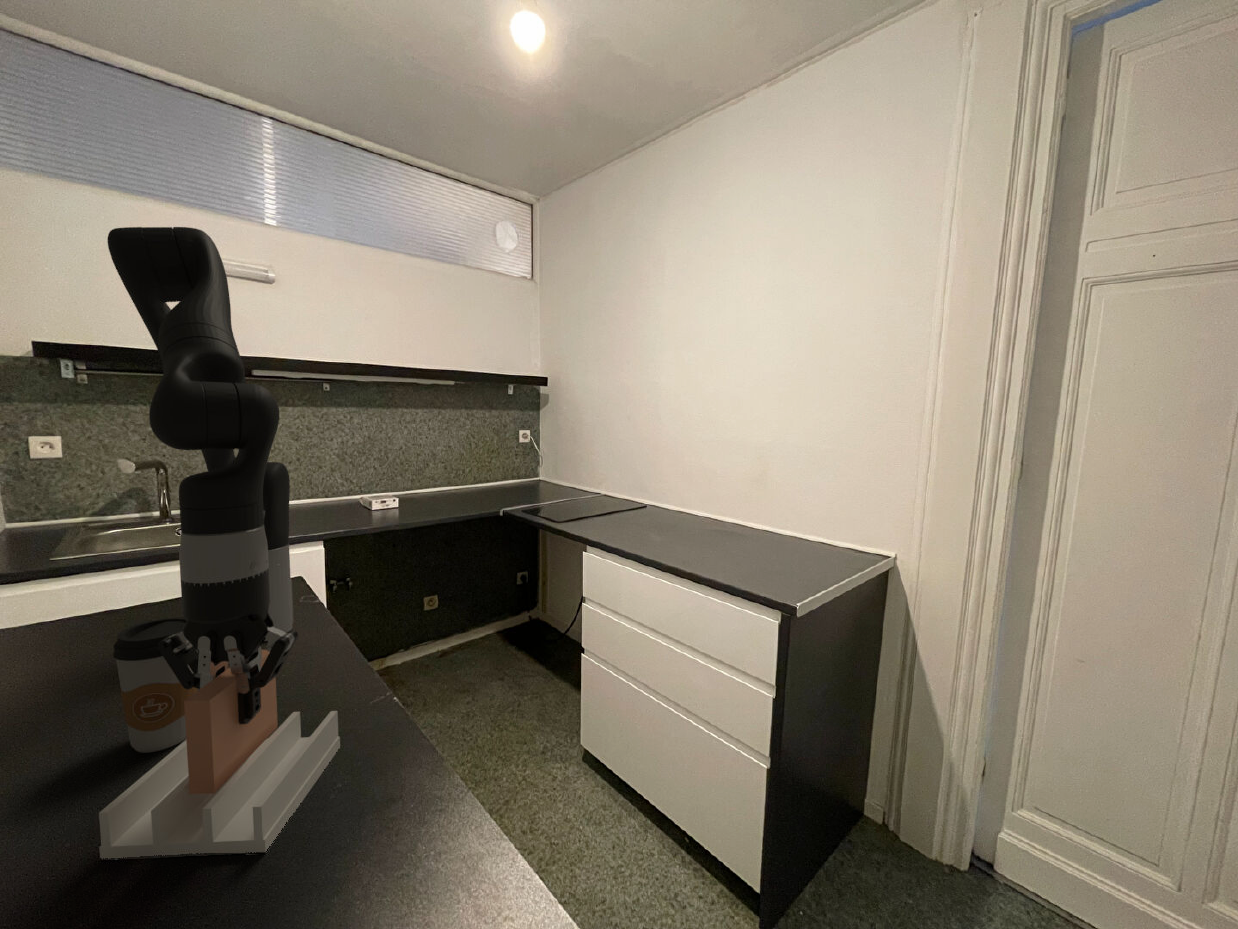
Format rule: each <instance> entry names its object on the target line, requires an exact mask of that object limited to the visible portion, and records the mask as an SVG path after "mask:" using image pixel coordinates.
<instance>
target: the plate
mask: <svg viewBox="0 0 1238 929" xmlns="http://www.w3.org/2000/svg"><path fill="white" fill-rule="evenodd" d="M261 651H262V660H261V668H262V666H263V664H264V662H265V660H266V659H267V657H268V655H269V653H270V652H268V651H267V649H261ZM276 677H277V676H276ZM276 677H274V678H273V679H272V680H271V681H270V682H269V683H268V684H267V685H265V686H264V687H262V688H260V691H261V709H260V711H259V712H258V713H257V714H256V716H255V717H254V718H253V719H252V720H251V721H250V722H249V723H248V724H239V713H238V693H240V692H239V691H238V689H237V684H236V678H235V675H233V674H231V670H230V667H228V669H227V670H226V671H224V672H223V673H221V674H220V675H219V676H217V677H216V678H215V679H213V680H212V681H211V682H209V683H208V684H206V685H205V686H204V687H202V688H201V689H198V691H197V692H196V693H194V694H193V695H191V696H190V697H189V698H187V699H186V700H185V701H184V708H185V724H186V739H185V740H186V741H187V757H188V774H189V791H190V794H208V793H216V791H217V790H218V789H219V788H220V787H221V786H222V785H223V784H224V783H225V782H226V781H227V780H228V779H229V778H230V777H231V776H232V775H233V774H234V773H235V772H236V770H237V769H238V768H239V767H240V766H241V765H242V764H243V763H244V762H245V761H246V760H247V759H248V758H249V757H250V756H251V755H252V754H253V753H254V752H255V750H256V749H257V748H258V747H259V746H260V745H261V744H262V743H263V742H264V741H265V740H266V739H267V738H269V737H270V736H271V735H272V734H273V733H274V732H275V731H276V730H277V729H278V728H279V727H278V726H279V725H278V706H277V705H278V703H277V678H276Z"/></svg>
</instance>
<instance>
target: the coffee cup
mask: <svg viewBox="0 0 1238 929" xmlns="http://www.w3.org/2000/svg"><path fill="white" fill-rule="evenodd" d="M186 622H187V620H186V619H185V618H184V617H182V616H176V617H175V616H174V617H165V618H157V619H153V620H149V621H144V622H141V623H139V624H135V625H132V626H130V627H128V628H126V629H123V630H122V631H120V632H119V634H117V639H116V642H115V643H114V645H113V649H114V650H113V653H112V656H113V658H114V659H115V662H116V667H117V672H118V674H117V675H118V679H119V684H120V689H119V690H120V696H121V697H120V698H121V702H122V706H123V707H122V708H123V714H124V720H125V723H126V725H127V726H126V727H127V730H128V732H127V733H128V737H129V738H128V739H129V742H130V743H129V745H130V746H131V748H133V749H134V750H135V751H136V752H137V753H154V752H158V751H162V750H165V749H168V748H171V747H174V746H176V745H178V744H181V743H183V742H184V741H185V740H186V724H185V708H184V701H185V700H186V699H187V698H189V697H190V696H191V695H193V694H194V693H196V692H197V691H198V690H199V689H198V688H194V687H193V688H191V689H185V688H184V687H183V686H182V685H181V683H180V682H179V680H178V679H177V677H176V675H175V674H174V672H173V671H172V669H171V668H170V666H169V665H168V663H167V662H166V660H165V659H164V657H163V656H162V654H161V653H160V651H159V649H158V647H157V645H158V643H159V642H161V641H163V640H164V639H166V638H167V637H169V636H171V635H173V634H175V633H177V632H180V631H183V628H184V626H185V624H186ZM196 651H197V650H196ZM197 652H198V651H197ZM198 653H199V652H198ZM188 667H189V665H188ZM189 669H190V671H191V672H192V674H193V671H192V670H191V668H190V667H189Z"/></svg>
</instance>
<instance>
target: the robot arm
mask: <svg viewBox="0 0 1238 929" xmlns="http://www.w3.org/2000/svg"><path fill="white" fill-rule="evenodd" d="M107 248H108V252H109V254H110V257H111V260H112V262H113V265H114V267H115V270H116V272H117V274H118V276H119V278H120V280H121V282H122V284H123V285H124V286H123V287H124V288H125V289H126V292H127V293H128V295H129V297H130V299H131V302H132V303H133V305H134V306H135V308H136V310H137V312H138V314H139V316H140V318H141V320H142V321H143V323H144V324H143V325H145V327H146V329H147V330H148V333H149V335H150V337H151V338H152V341H153V343H154V345H155V347H156V349H157V352H158V355H159V356H160V359H161V361H162V366H163V373H162V377H161V379H160V381H159V383H158V385H157V387H156V390H155V391H154V393H153V396H152V400H151V402H150V406H149V411H148V412H149V414H148V418H149V419H148V420H149V425H150V428H151V431H152V433H153V434H154V436H155V437H156V438H157V439H158V440H159V441H160V442H161V443H162V444H164V445H166V446H168V447H170V448H172V449H175V450H179V451H181V450H182V451H200V452H201V454H202V456H203V459H204V461H205V466H206V469H207V471H203V472H198V473H194V474H190V475H189V476H186V477H184V478H183V479H182V480H181V481H180V483H179V486H178V503H179V504H178V505H179V516H180V518H179V520H180V542H179V543H180V544H179V550H178V551H179V553H178V559H179V560H178V561H179V573H180V574H179V577H180V594H181V608H182V609H181V610H182V616H183V617H184V618H185V619H186V620H187V622H186V624H185V626H184V628H183V631H180V632H177V633H175V634H173V635H171V636H169V637H167V638H166V639H164V640H163V641H161V642H159V643H158V645H157V647H158V649H159V651H160V653H161V654H162V656H163V657H164V659H165V660H166V662H167V663H168V665H169V666H170V668H171V669H172V671H173V672H174V674H175V675H176V677H177V679H178V680H179V682H180V683H181V685H182V686H183V687H184V688H185V689H191V688H193V687H194V688H198V690H200V689H201V688H202V687H204V686H205V685H206V684H208V683H209V682H211V681H212V680H213V679H215V678H216V677H217V676H219V675H220V674H221V673H223V672H224V671H226V670H227V669H228V668H230V670H231V674H233V675H235V678H236V684H237V689H238V691H239V692H240V693H238V713H239V724H248V723H249V722H250V721H251V720H252V719H253V718H254V717H255V716H256V714H257V713H258V712H259V711H260V709H261V691H260V688H262V687H264V686H265V685H267V684H268V683H269V682H270V681H271V680H272V679H273V678H274V677H277V676H278V675H279V673H280V672H281V670H282V668H283V666H284V664H285V662H286V660H287V658H288V657H289V655H290V652H291V651H292V650H293V647H294V646H295V643H296V641H297V639H298V638H299V633H298V631H297V630H295V629H293V624H294V603H293V602H294V601H293V600H294V598H293V579H292V578H291V561H290V560H291V558H290V489H291V488H290V486H291V485H290V484H291V482H290V475H289V470H288V469H287V466H286V465H285V464H284V463H282V462H276V461H268V460H269V457H270V454H271V450H272V447H273V443H274V441H275V437H276V435H277V432H278V427H279V423H280V406H279V405H278V402H277V400H276V398H275V397H274V395H273V393H271V391H270V390H268V389H267V388H266V387H264V386H262V385H259V384H254V383H248V381H247V378H246V376H245V375H246V374H245V367H244V363H243V361H242V357H241V355H240V351H239V349H238V344H237V343H236V339H235V336H234V333H233V332H234V331H233V328H232V327H233V326H232V309H231V307H232V306H231V299H230V289H229V284H228V278H227V277H228V276H227V273H226V270H225V267H224V263H223V260H222V257H221V254H220V252H219V249H218V248H217V245H216V244H215V242H214V240H213V239H212V238H211V237H210V235H209V234H208V233H206V232H205V231H203V230H201V229H199V228H194V227H187V226H173V227H172V226H168V227H167V226H157V227H156V226H153V227H152V226H151V227H150V226H149V227H146V226H143V227H142V226H132V227H131V226H129V227H116V228H113V229H111V230H109V232H108V235H107ZM167 303H177V304H175V306H173V307H172V308H170V306H169V305H168V304H167ZM235 450H238V452H237V455H235ZM264 642H267V647H266V650H267V651H268V652H270V653H269V655H268V657H267V659H266V660H265V662H264V664H263V666H262V668H261V660H262V651H261V650H262V648H261V646H262V645H263V643H264ZM196 650H197V651H198V652H197V651H196ZM188 665H189V667H190V668H191V670H192V671H193V674H192V672H191V671H190V669H189V667H188Z"/></svg>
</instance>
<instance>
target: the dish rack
mask: <svg viewBox="0 0 1238 929" xmlns="http://www.w3.org/2000/svg"><path fill="white" fill-rule="evenodd" d="M338 712H339V711H338V710H331V711H329V713H328V714H327V715H326V717H325V718H324V719H323V720H322V721H321V723H320V724H319V725H318V727H317V728H316V729H315V730H314V731H313V733H312V734H311V735H310V736H308V737H307V736H306V737H302V731H301V730H302V729H301V727H302V726H301V724H302V723H301V711H293V712H292V713H291V714H290V715H289V716H288V717H287V718H286V719H285V720H284V721H283V723H281V724H280V725H279V727H277V728H276V729H275V731H274V732H273V733H272V734H271V735H270V736H269V737H268V738H267V739H266V740H265V741H264V742H263V743H262V744H261V745H260V746H259V747H258V748H257V749H256V750H255V752H254V753H253V754H252V755H251V756H250V757H249V758H248V759H247V760H246V761H245V762H244V763H243V764H242V765H241V766H240V767H239V768H238V769H237V770H236V772H235V773H234V774H233V775H232V776H231V777H230V778H229V779H228V780H227V781H226V782H225V783H224V784H223V785H222V786H221V787H220V788H219V789H218V790H217V791H216V793H208V794H190V791H189V774H188V757H187V741H186V739H185V740H183V741H182V742H181V743H179V745H178V746H177V747H175V748H174V749H173V750H172V751H171V752H169V754H167V755H166V756H165V757H163V759H161V760H160V761H158V763H156V764H155V765H154V766H153V767H152V768H150V769H149V770H148V771H147V772H146V773H144V774H143V775H141V777H140V778H138V779H137V780H136V781H135V782H134V783H132V785H130V786H129V787H128V788H126V790H124V791H123V792H122V793H121V794H119V796H117V797H115V799H113V801H112V802H110V803H109V804H108V805H106V806H105V807H104V808H103V809H101V811H99V812H98V821H99V830H100V831H99V832H100V845H99V848H98V849H99V859H100V858H102V859H103V858H104V859H105V858H108V859H109V858H110V859H111V858H123V857H124V858H125V857H126V858H127V857H140V856H154V855H155V856H156V855H157V856H158V855H162V856H163V855H164V856H165V855H178V854H179V855H180V854H189V853H190V854H191V853H192V854H196V853H199V854H200V853H202V854H203V853H246V852H247V853H248V852H249V853H250V852H252V853H254V852H255V853H256V852H266V851H267V849H268V848H269V846H271V847H272V845H273V844H274V842H275V841H276V840H275V839H277V838H278V837H279V835H280V834H281V833H282V831H283V830H282V828H283V829H284V828H285V827H286V825H287V824H286V822H287V823H288V822H289V821H290V820H289V818H290V817H291V816H292V817H293V816H294V814H295V812H296V811H297V810H298V808H299V807H300V805H301V804H302V803H303V801H304V800H305V798H306V797H307V795H308V794H309V792H310V791H311V790H312V788H313V787H314V786H315V784H316V782H317V781H318V780H319V778H320V777H321V776H322V774H323V773H324V771H325V770H324V769H326V768H327V767H328V765H329V764H330V763H329V762H331V761H332V760H333V758H334V757H335V755H336V754H337V753H338V751H339V750H340V748H341V736H339V718H338V716H339V713H338ZM338 749H339V750H338ZM336 752H337V753H336ZM300 803H301V804H300ZM296 809H297V810H296ZM293 813H294V814H293ZM292 817H291V818H292ZM291 818H290V819H291ZM288 820H289V821H288ZM285 824H286V825H285ZM284 826H285V827H284ZM281 830H282V831H281ZM279 833H280V834H279ZM278 834H279V835H278ZM277 836H278V837H277ZM276 837H277V838H276ZM274 840H275V841H274ZM273 841H274V842H273ZM272 843H273V844H272ZM271 844H272V845H271ZM269 849H270V848H269ZM269 849H268V850H269ZM267 852H268V851H267ZM267 852H266V853H267Z"/></svg>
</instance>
